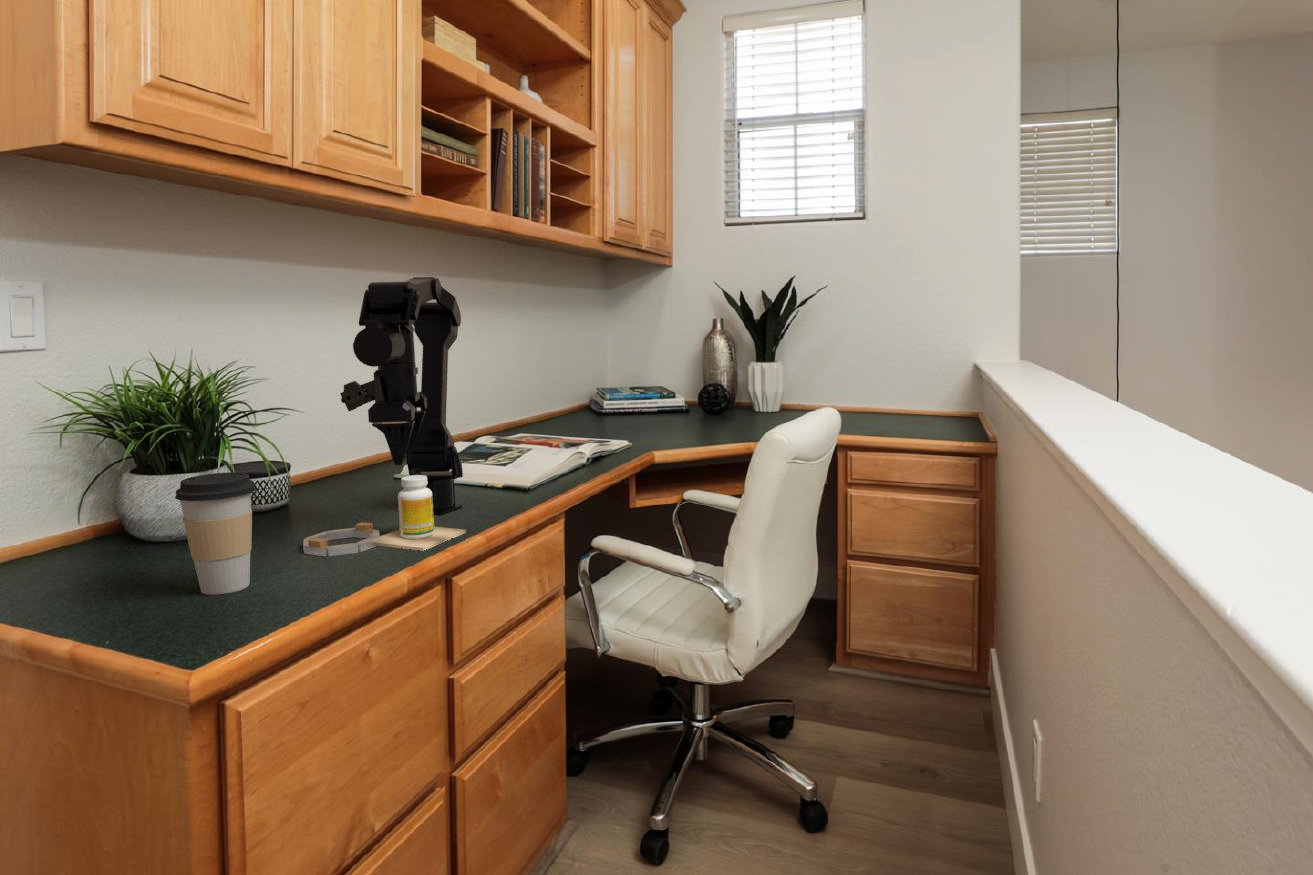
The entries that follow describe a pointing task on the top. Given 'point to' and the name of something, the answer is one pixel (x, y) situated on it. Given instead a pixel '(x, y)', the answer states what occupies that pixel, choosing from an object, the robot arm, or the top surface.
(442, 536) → the coaster
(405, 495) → the supplement bottle
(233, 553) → the coffee cup
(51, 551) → the top surface
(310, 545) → the grey octagonal ring
